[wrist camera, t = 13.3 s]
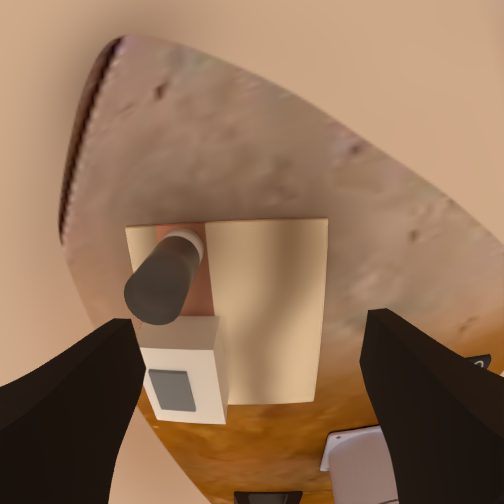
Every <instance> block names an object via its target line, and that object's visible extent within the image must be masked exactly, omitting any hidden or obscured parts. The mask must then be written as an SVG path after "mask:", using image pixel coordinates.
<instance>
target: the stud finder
mask: <svg viewBox="0 0 504 504" xmlns="http://www.w3.org/2000/svg"><path fill="white" fill-rule="evenodd" d="M136 338H137V341H138V344H139V347H140V350H141V353H142V356H143V359H144V362H145V365H146V373H145V377H144V382H143V384H144V387H145V390H146V392H147V395H148V397H149V400H150V403H151V405H152V408H153V410H154V412H155V415H156V417H157V420H166V421H177V422H190V423H207V424H226V416H227V406H228V397H229V385H228V377H227V370H226V362H225V354H224V346H223V338H222V330H221V322H220V316H178V317H177V318H176V319H175V320H174V321H173V322H171V323H169V324H166V325H151V324H148V323H145V322H144V323H143V325H142V327H141V328H140V330H139V332H138V334H137V336H136Z"/></svg>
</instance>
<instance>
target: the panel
mask: <svg viewBox="0 0 504 504" xmlns="http://www.w3.org/2000/svg"><path fill="white" fill-rule="evenodd" d="M175 228H188V229H190V230H192V231H194V232H195V233H196V234H198V236H199V237H200V238H201V240H202V242H203V245H204V255H203V258H202V260H201V263H200V265H199V267H198V270H197V272H196V275H195V277H194V280H193V282H192V285H191V287H190V290H189V292H188V295H187V297H186V300H185V302H184V305H183V307H182V310H181V312H180V314H179V316H220V322H221V330H222V338H223V346H224V354H225V362H226V370H227V377H228V385H229V397H228V404H281V403H298V402H311V401H314V394H315V386H316V378H317V370H318V361H319V352H320V342H321V332H322V321H323V309H324V296H325V281H326V263H327V241H328V219H327V218H291V219H260V220H235V221H213V222H194V223H176V224H159V225H144V226H129V227H127V228H125V230H126V236H127V242H128V248H129V253H130V258H131V263H132V268H133V273H134V272H135V271H136V270H137V269H138V268H139V266H140V265H141V264H142V263H143V261H144V260H145V259H146V258H147V256H148V255H149V254H150V253H151V252H152V250H153V249H154V248H155V247H156V246H157V244H158V243H159V242H160V241H161V240H162V239H163V237H164V236H165V235H166V234H167V233H168V232H169V231H171V230H172V229H175Z"/></svg>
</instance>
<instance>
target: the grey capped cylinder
mask: <svg viewBox="0 0 504 504" xmlns="http://www.w3.org/2000/svg"><path fill="white" fill-rule="evenodd" d="M203 255H204V245H203V242H202V240H201V238H200V237H199V236H198V234H196V233H195V232H194V231H192V230H190V229H188V228H175V229H172V230H171V231H169V232H168V233H167V234H166V235H165V236H164V237H163V239H162V240H161V241H160V242H159V243H158V244H157V246H156V247H155V248H154V249H153V250H152V252H151V253H150V254H149V255H148V256H147V258H146V259H145V260H144V261H143V263H142V264H141V265H140V266H139V268H138V269H137V270H136V271H135V272H134V274H133V275H132V276H131V278H130V279H129V280H128V281H127V283H126V285H125V289H124V298H125V301H126V304H127V306H128V308H129V309H130V311H131V312H132V313H133V314H134V315H135V316H136V317H137V318H138V319H140V320H141V321H143V322H145V323H148V324H151V325H166V324H169V323H171V322H173V321H174V320H175V319H176V318H177V317H178V316H179V314H180V312H181V310H182V307H183V305H184V302H185V300H186V297H187V295H188V292H189V290H190V287H191V285H192V282H193V280H194V277H195V275H196V272H197V270H198V267H199V265H200V263H201V260H202V258H203Z"/></svg>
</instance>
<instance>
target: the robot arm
mask: <svg viewBox="0 0 504 504" xmlns="http://www.w3.org/2000/svg"><path fill="white" fill-rule="evenodd" d="M360 366H361V371H362V375H363V379H364V383H365V387H366V390H367V393H368V396H369V398H370V401H371V403H372V406H373V409H374V411H375V414H376V417H377V419H378V422H379V425H380V426H374V427H369V428H363V429H357V430H350V431H343V432H336V433H331V434H329V436H328V439H327V443H326V446H325V450H324V454H323V458H322V461H321V465H320V470H321V471H329V470H330V476H331V482H332V488H333V495H334V501H335V504H504V377H502V376H500V375H497V374H495V373H493V372H491V371H489V370H486V369H484V368H482V367H480V366H478V365H476V364H474V363H472V362H471V361H469V360H467V359H465V358H463V357H462V356H460V355H458V354H457V353H455V352H453V351H452V350H450V349H448V348H447V347H445V346H443V345H442V344H440V343H439V342H437V341H436V340H434V339H433V338H431V337H430V336H428V335H427V334H425V333H424V332H422V331H421V330H419V329H418V328H416V327H415V326H413V325H412V324H411V323H409V322H408V321H406V320H405V319H403V318H402V317H400V316H399V315H397V314H396V313H394V312H392V311H391V310H389V309H387V308H384V309H375V310H368V315H367V322H366V328H365V334H364V340H363V346H362V351H361V356H360ZM145 373H146V365H145V362H144V359H143V356H142V353H141V350H140V347H139V344H138V341H137V338H136V334H135V331H134V328H133V324H132V321H131V319H117V318H114V319H112V320H110V321H109V322H107V323H105V324H104V325H102V326H101V327H99V328H97V329H96V330H94V331H93V332H92V333H90V334H89V335H87V336H86V337H84V338H83V339H82V340H80V341H78V342H77V343H76V344H74V345H73V346H71V347H70V348H68V349H67V350H65V351H64V352H62V353H61V354H59V355H58V356H56V357H55V358H53V359H51V360H50V361H48V362H47V363H45V364H44V365H42V366H40V367H39V368H37V369H35V370H34V371H32V372H30V373H28V374H26V375H25V376H23V377H21V378H19V379H17V380H15V381H13V382H11V383H8V384H6V385H4V386H1V387H0V504H108V501H109V494H110V488H111V482H112V477H113V472H114V467H115V463H116V459H117V455H118V452H119V449H120V446H121V443H122V440H123V438H124V435H125V433H126V430H127V428H128V425H129V422H130V420H131V417H132V415H133V412H134V409H135V407H136V404H137V402H138V399H139V396H140V394H141V390H142V386H143V382H144V377H145Z"/></svg>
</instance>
